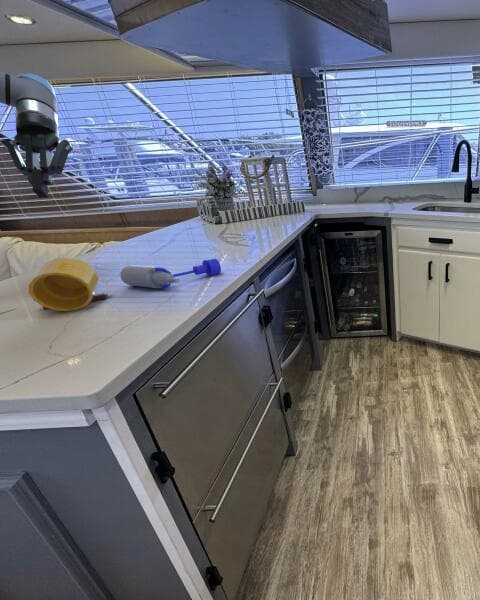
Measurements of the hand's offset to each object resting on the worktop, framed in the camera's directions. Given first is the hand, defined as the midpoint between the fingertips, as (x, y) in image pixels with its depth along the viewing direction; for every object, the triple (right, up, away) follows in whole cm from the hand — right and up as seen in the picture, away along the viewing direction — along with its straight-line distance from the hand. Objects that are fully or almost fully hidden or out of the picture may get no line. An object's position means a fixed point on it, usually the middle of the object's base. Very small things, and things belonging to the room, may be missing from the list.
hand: (40, 193), depth 78 cm
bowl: (+7, -20, +1) cm, 21 cm away
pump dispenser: (+24, -21, +15) cm, 35 cm away
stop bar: (+7, -27, +2) cm, 28 cm away
